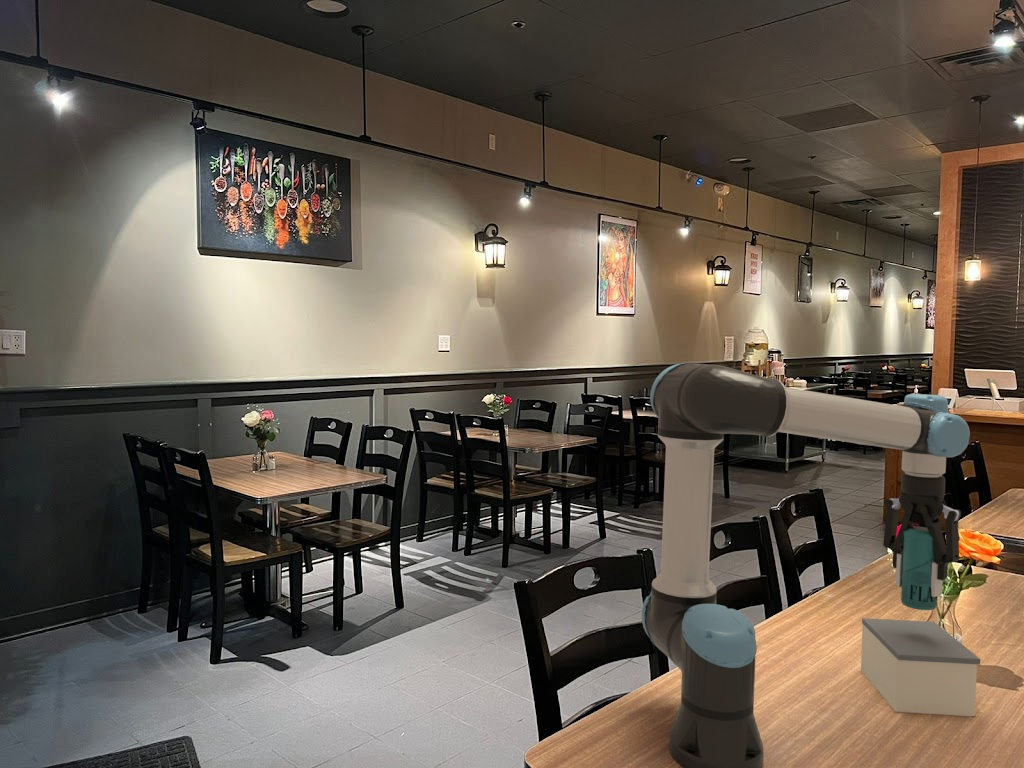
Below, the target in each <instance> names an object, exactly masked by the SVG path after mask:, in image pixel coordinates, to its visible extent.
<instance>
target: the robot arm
mask: <svg viewBox="0 0 1024 768" xmlns="http://www.w3.org/2000/svg"><path fill="white" fill-rule="evenodd" d="M649 398H650V399H649V400H650V405H651V408H652V410H653V412H654V414H655V415H656V417H657V418H658V422H657V423H658V425H657V428H658V429H657V437H658V438H659V439H660V441H662V443H663V444H664V445H665V460H664V461H665V464H664V486H663V487H664V488H663V513H662V535H661V536H662V537H661V557H660V559H661V561H660V573H659V575H658V576H657V577H655V578H654V579H653V580H652V582H651V591H650V594H649V595H648V596H646V597H645V599H644V601H643V604H642V607H641V623H642V627H643V629H644V632H645V634H646V635H647V636H648V639H650V641H651V643H652V644H653V645H654V646H655V647H656V648H657V649H658V650H659V651H660V652H661V653H663V654H664V655H665V656H666V657H668V659H669V660H670V661H671V662H673V664H674V665H675V666H676V667H678V670H680V672H681V686H680V687H681V691H680V692H681V695H680V696H681V697H680V705H679V708H678V711H677V713H676V716H675V718H674V721H673V723H672V726H671V729H670V732H669V742H668V743H669V746H668V747H669V753H670V755H671V756H672V758H673V759H674V760H675V761H676V762H677V763H678V764H679V765H680V766H682V767H684V768H762V767H763V765H764V755H765V753H764V749H765V748H764V745H763V741H762V738H761V734H760V730H759V727H758V725H757V719H756V717H755V715H754V710H755V709H754V706H755V703H754V701H755V683H756V682H755V675H756V655H757V652H758V651H757V650H758V648H757V640H756V630H755V627H754V625H753V623H752V621H751V620H750V618H748V617H747V615H745V614H743V613H742V612H740V611H739V610H737V609H734V608H728V607H727V606H725V605H721V604H717V593H718V591H717V586H716V585H715V584H714V583H713V582H712V581H711V580H710V577H709V574H710V557H711V556H710V554H711V553H710V551H711V531H712V512H713V511H712V508H713V506H712V505H713V490H714V489H713V488H714V487H713V486H714V465H715V464H714V463H715V450H716V447H717V446H719V445H720V444H721V443H722V442H723V441H724V437H725V434H726V435H727V434H731V435H754V436H762V437H772V436H775V435H776V434H777V433H785V434H791V435H798V436H804V437H812V438H818V439H823V440H825V439H827V440H830V441H832V440H833V441H840V442H846V443H852V444H857V445H864V446H868V447H869V446H873V447H878V448H879V447H880V448H888V449H894V450H901V451H902V454H901V455H902V457H901V470H902V471H903V473H902V474H901V478H900V479H901V480H900V481H901V482H900V490H901V491H900V492H901V494H900V495H899V497H898V498H895V497H893V498H892V497H891V498H888V499H885V501H884V504H885V508H886V515H885V516H886V517H885V525H884V534H883V535H884V536H883V542H882V543H883V544H882V545H883V547H884V548H886V549H889V550H891V552H892V568H893V569H895V570H896V572H895V573H896V574H895V587H897V588H901V587H902V584H901V582H902V572H903V547H904V532H905V531H906V530H907V529H909V528H910V527H915V523H913V522H910V519H911V516H912V513H913V512H917V513H922V515H923V518H924V522H925V526H924V527H925V528H928V531H929V534H930V535H931V537H932V538H933V541H932V546H933V550H934V553H935V557H936V561H935V562H932V575H931V596H933V597H936V596H938V597H940V596H942V595H943V581H945V580H947V578H948V567H949V566H948V565H949V564H952V563H954V562H958V561H959V560H960V541H959V540H960V537H959V535H960V533H959V520H960V519H961V516H962V511H961V510H960V509H953V508H952V507H949V506H947V503H946V501H945V494H946V478H945V476H944V474H946V470H947V469H946V468H947V458H954V457H956V456H959V455H961V454H962V453H963V452H964V451H965V450H966V449H967V447H968V445H969V440H970V436H971V432H970V427H969V425H968V422H966V420H965V419H964V418H963V417H961V416H960V415H957V414H953V413H949V402H948V399H947V397H945V396H944V395H940V394H926V393H925V394H922V393H915V394H913V393H911V394H906V395H905V396H904V400H903V401H904V402H903V404H901V405H897V404H889V403H885V402H878V401H872V400H866V399H860V398H854V397H848V396H843V395H842V396H841V395H836V394H829V393H823V392H818V391H811V390H807V389H806V390H805V389H804V390H803V389H798V388H794V387H787V386H785V385H784V383H783V382H782V381H780V380H779V379H775V378H769V377H765V376H762V375H761V376H760V375H756V374H753V373H748V372H746V371H742V370H739V369H736V368H733V367H729V366H726V365H719V364H708V363H707V364H705V363H695V362H682V363H678V364H673V365H670V366H669V367H667V368H666V369H664V370H663V371H662V372H660V373H659V374H658V375H657V377H656V378H655V380H654V382H653V384H652V385H651V389H650V395H649ZM901 507H902V509H903V511H904V513H903V517H902V519H901V521H902V522H901V525H900V527H899V530H898V525H899V516H900V509H901ZM942 513H943V514H944V516H943V517H944V519H945V527H944V529H945V530H944V531H945V538H944V535H943V531H942V527H941V526H942V523H941V519H940V516H942ZM932 521H934V523H933V522H932Z"/></svg>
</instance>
